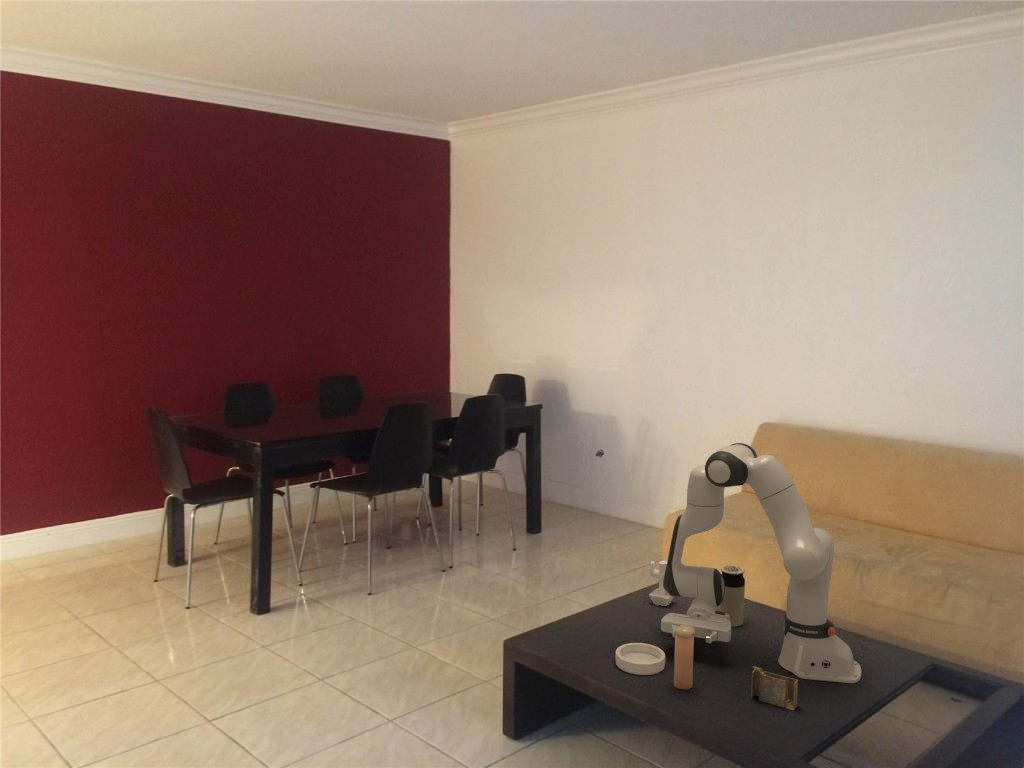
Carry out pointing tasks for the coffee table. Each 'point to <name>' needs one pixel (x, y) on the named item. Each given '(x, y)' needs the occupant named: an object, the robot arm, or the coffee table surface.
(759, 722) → the coffee table surface
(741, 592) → the travel mug
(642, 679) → the coffee table surface
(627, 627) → the coffee table surface
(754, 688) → the brown piece
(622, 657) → the round tray
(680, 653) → the bead jar
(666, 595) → the figurine
